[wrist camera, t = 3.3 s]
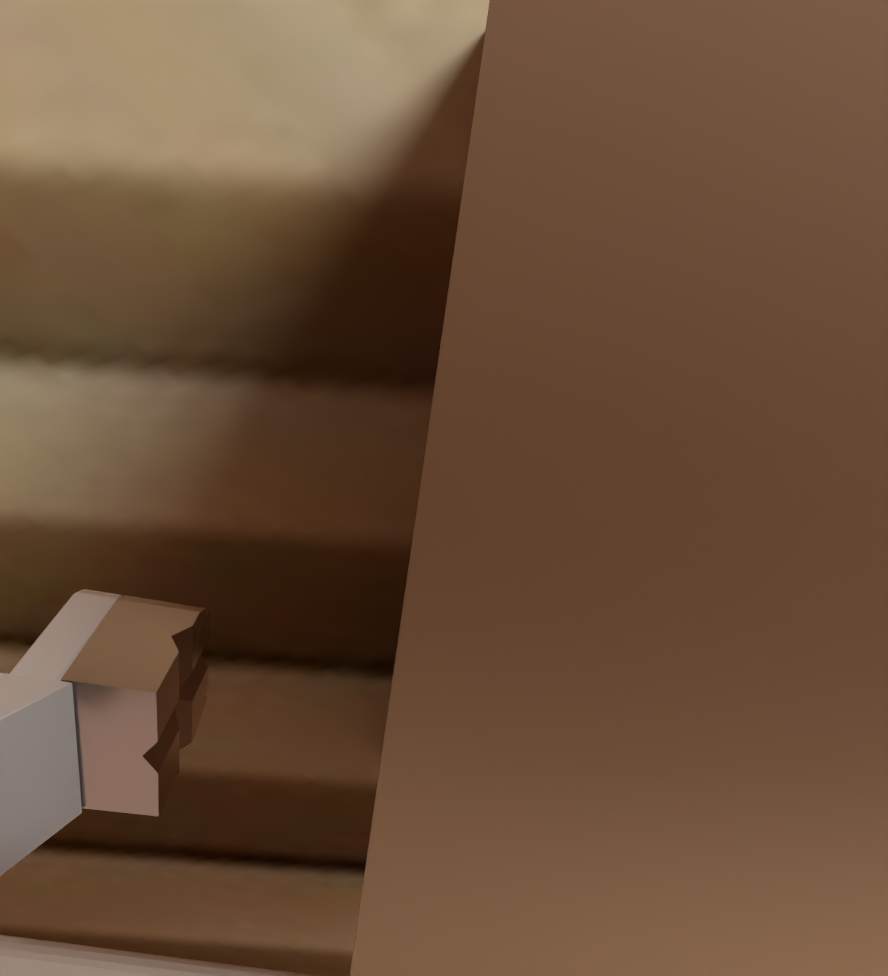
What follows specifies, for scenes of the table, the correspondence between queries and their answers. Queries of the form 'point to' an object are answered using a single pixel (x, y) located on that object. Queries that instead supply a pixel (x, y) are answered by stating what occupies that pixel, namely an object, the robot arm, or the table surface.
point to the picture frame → (652, 512)
